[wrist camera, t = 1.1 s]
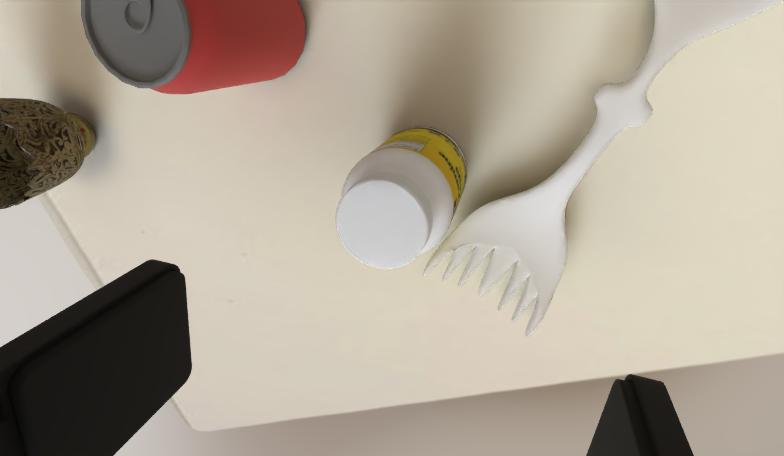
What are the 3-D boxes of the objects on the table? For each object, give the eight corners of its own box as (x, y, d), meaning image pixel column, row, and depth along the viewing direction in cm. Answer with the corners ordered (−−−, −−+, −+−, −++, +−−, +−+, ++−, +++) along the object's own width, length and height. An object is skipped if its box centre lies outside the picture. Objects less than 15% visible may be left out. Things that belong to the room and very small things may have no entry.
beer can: (324, 1, 30) (214, -18, 19) (290, 96, 33) (178, 125, 22) (235, -46, 30) (79, -91, 20) (210, 52, 33) (60, 59, 23)
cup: (34, 142, 40) (-72, 165, 33) (53, 67, 37) (-60, 75, 30) (105, 194, 40) (15, 228, 33) (131, 124, 37) (37, 145, 30)
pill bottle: (469, 212, 33) (447, 287, 23) (384, 211, 35) (328, 281, 25) (467, 122, 31) (441, 162, 21) (376, 125, 32) (312, 165, 22)
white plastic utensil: (425, 255, 35) (415, 277, 32) (771, -298, 20) (814, -356, 17) (531, 317, 35) (531, 345, 32) (958, -199, 20) (1036, -241, 17)
